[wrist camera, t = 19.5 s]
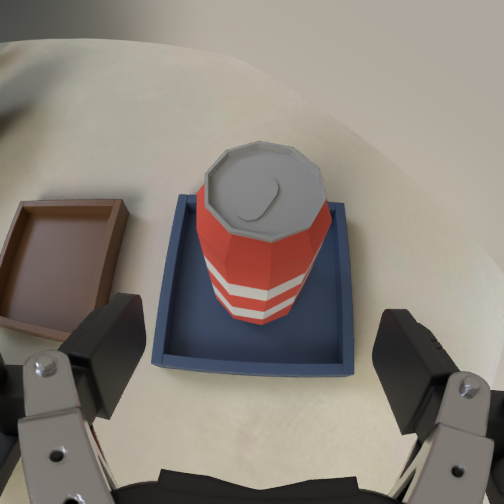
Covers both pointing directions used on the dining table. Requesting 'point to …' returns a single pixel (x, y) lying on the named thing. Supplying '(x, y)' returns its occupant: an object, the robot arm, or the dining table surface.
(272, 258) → the beverage can
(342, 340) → the tray
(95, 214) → the tray
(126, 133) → the dining table surface
